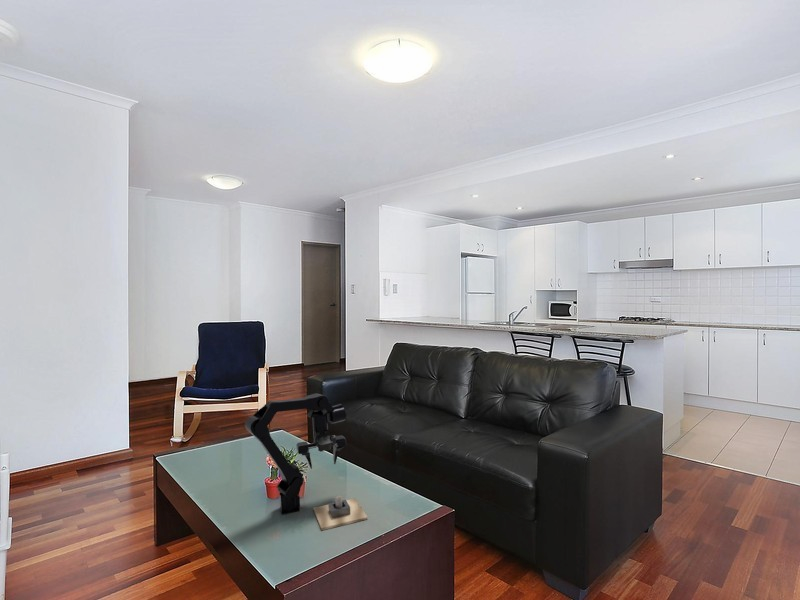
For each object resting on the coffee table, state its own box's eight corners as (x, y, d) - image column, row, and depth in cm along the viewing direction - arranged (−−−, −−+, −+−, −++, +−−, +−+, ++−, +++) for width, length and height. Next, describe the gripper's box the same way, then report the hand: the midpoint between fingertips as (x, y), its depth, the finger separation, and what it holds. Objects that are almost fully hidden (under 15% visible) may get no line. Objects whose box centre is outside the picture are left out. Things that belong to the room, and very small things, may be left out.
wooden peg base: (321, 530, 150) (320, 511, 150) (313, 509, 165) (312, 492, 165) (367, 519, 156) (366, 501, 155) (355, 500, 171) (354, 483, 170)
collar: (332, 518, 156) (332, 511, 156) (328, 510, 162) (328, 503, 162) (350, 514, 158) (350, 507, 158) (346, 506, 164) (345, 499, 164)
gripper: (298, 436, 164) (301, 478, 165) (348, 427, 171) (351, 468, 171) (295, 428, 175) (297, 468, 175) (342, 420, 181) (344, 459, 181)
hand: (323, 466), depth 175 cm, fingers open, 9 cm apart
